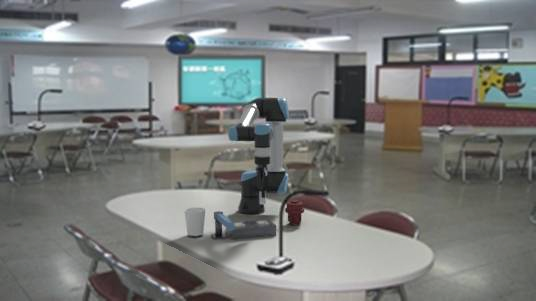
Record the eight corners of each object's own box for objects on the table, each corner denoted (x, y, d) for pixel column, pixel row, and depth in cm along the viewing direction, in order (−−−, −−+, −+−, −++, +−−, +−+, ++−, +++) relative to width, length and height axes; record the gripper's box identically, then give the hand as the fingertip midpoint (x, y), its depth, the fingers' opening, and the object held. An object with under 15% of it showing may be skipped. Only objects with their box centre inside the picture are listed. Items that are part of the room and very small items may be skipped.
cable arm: (212, 217, 259) (212, 211, 259) (221, 217, 260) (221, 211, 260) (227, 230, 236) (226, 224, 236) (236, 229, 238) (236, 223, 238)
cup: (199, 239, 255) (199, 212, 254) (181, 237, 259) (180, 211, 257) (209, 233, 264) (208, 208, 263) (191, 231, 268) (190, 206, 266)
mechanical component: (305, 222, 286) (302, 227, 277) (286, 221, 288) (283, 226, 279) (305, 199, 285) (302, 203, 275) (286, 198, 287) (283, 202, 277)
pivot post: (211, 235, 261) (210, 218, 260) (223, 234, 262) (223, 217, 261) (213, 239, 255) (213, 221, 254) (226, 238, 257) (226, 220, 256)
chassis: (225, 232, 266) (225, 222, 265) (268, 229, 273) (268, 218, 272) (232, 239, 255) (231, 228, 254) (276, 235, 261) (276, 224, 261)
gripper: (251, 154, 266) (251, 201, 269) (258, 158, 254) (259, 207, 257) (265, 153, 268) (265, 200, 271) (274, 157, 256) (274, 206, 259)
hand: (262, 203), depth 264 cm, fingers closed
